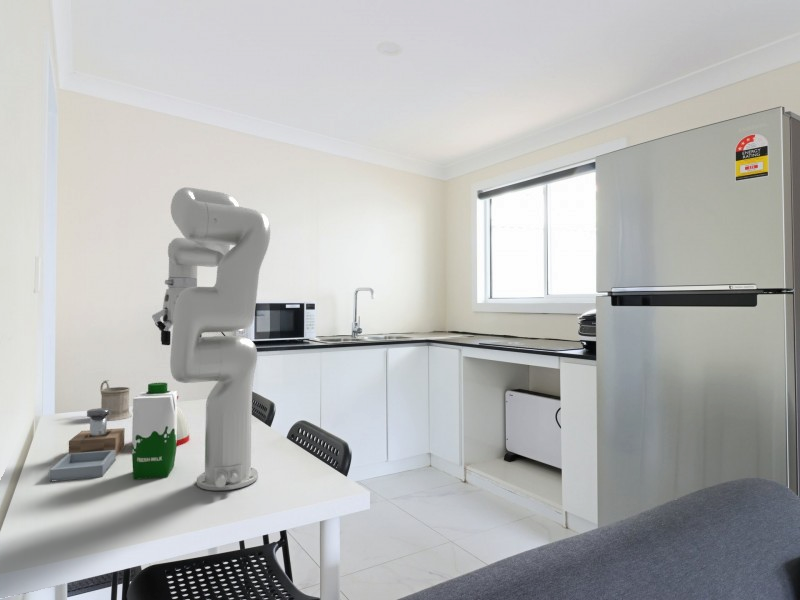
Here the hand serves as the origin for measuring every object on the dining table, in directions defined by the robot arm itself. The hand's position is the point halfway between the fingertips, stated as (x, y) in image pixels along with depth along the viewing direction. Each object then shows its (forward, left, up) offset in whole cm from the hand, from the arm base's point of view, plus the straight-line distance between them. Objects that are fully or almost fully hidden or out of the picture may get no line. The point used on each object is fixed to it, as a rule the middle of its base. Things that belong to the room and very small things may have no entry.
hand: (181, 343), depth 136 cm
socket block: (-9, +18, -27) cm, 34 cm away
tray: (-22, +18, -27) cm, 39 cm away
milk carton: (-29, +2, -28) cm, 40 cm away
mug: (+37, +25, -28) cm, 53 cm away
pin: (-9, +18, -27) cm, 34 cm away
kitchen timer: (-2, +4, -28) cm, 28 cm away
